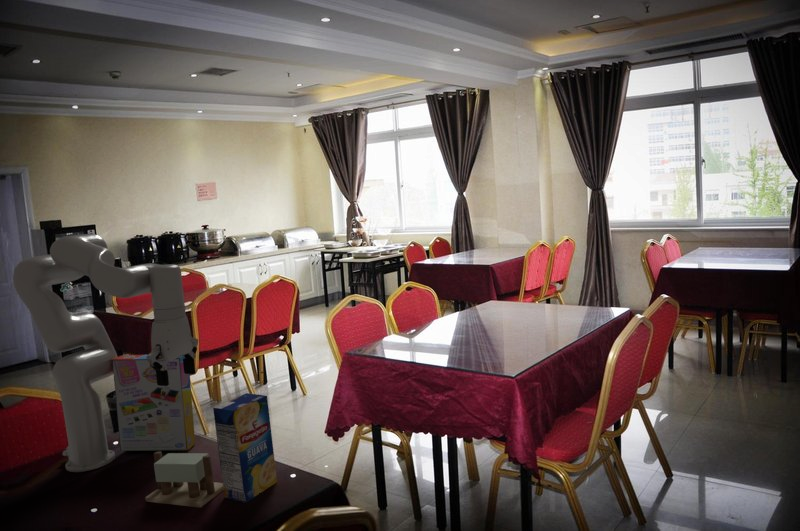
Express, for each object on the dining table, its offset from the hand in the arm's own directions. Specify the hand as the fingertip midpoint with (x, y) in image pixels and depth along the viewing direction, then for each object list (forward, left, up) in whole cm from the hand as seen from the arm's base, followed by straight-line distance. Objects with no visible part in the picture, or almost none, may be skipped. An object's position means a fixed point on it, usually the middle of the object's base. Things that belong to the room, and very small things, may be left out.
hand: (176, 379), depth 159 cm
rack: (+7, -10, -26) cm, 28 cm away
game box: (-21, +12, -25) cm, 35 cm away
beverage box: (+22, -5, -26) cm, 34 cm away
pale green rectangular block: (+7, -10, -21) cm, 24 cm away
